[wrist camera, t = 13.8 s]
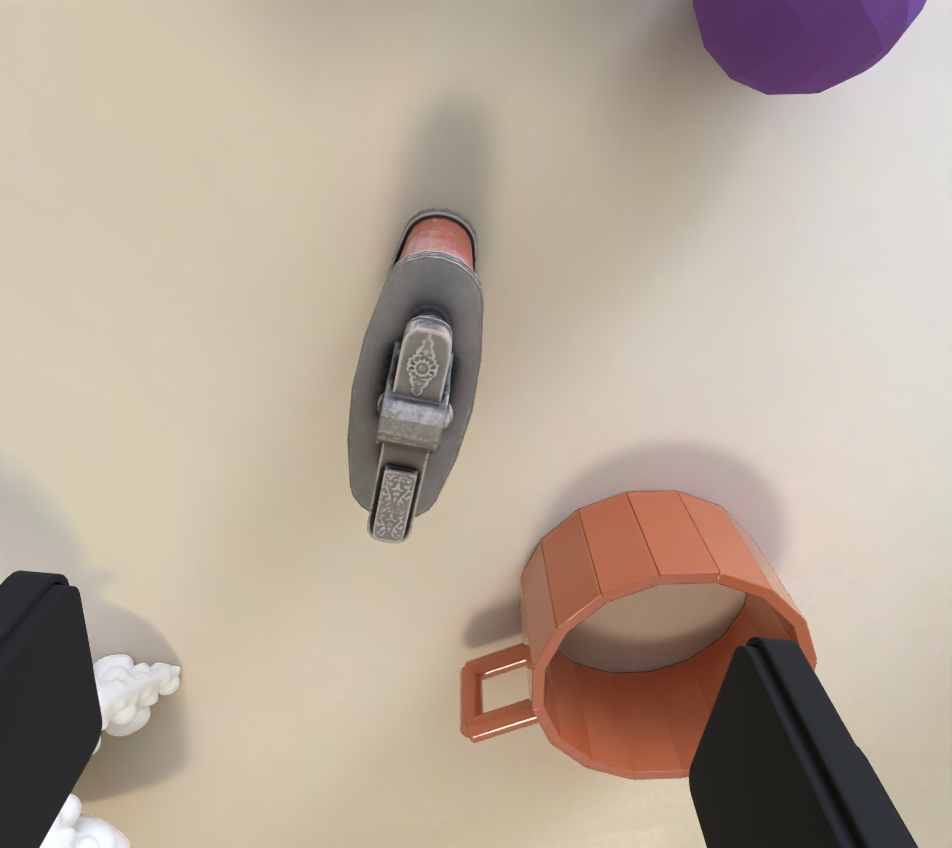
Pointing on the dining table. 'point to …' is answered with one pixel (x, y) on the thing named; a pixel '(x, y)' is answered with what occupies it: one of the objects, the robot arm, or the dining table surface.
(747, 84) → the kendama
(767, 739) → the robot arm
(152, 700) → the cauliflower
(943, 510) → the dining table surface
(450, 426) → the lighter
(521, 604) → the mug
